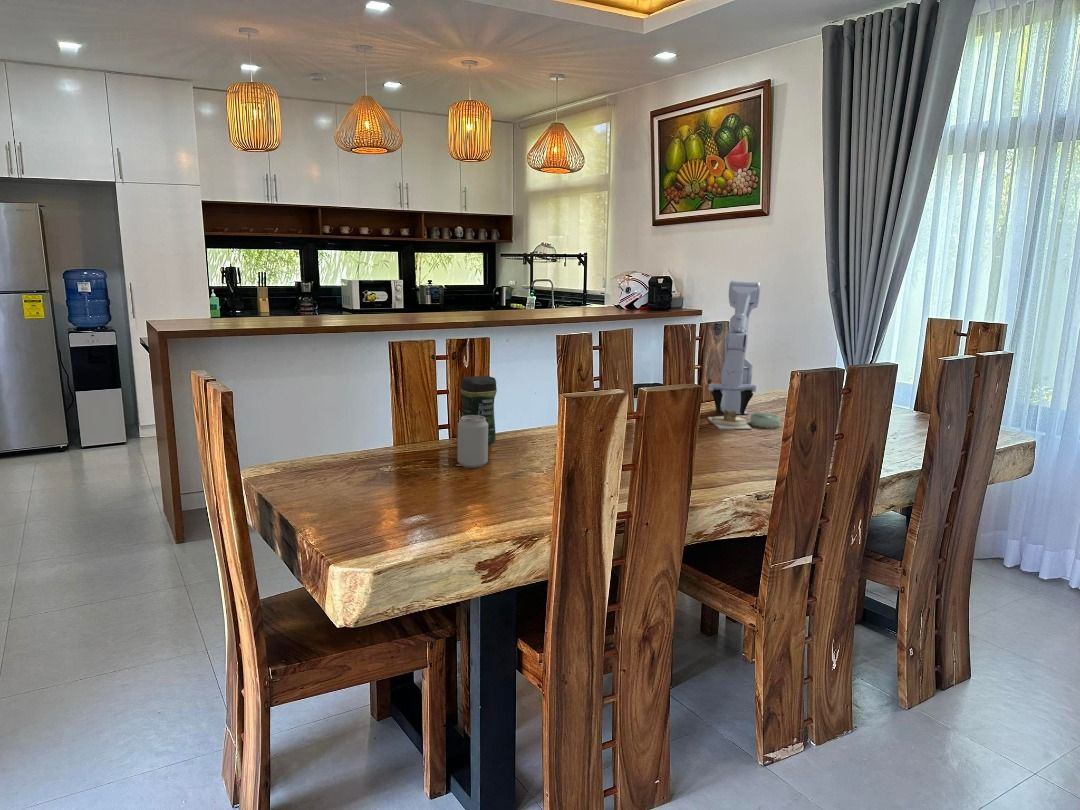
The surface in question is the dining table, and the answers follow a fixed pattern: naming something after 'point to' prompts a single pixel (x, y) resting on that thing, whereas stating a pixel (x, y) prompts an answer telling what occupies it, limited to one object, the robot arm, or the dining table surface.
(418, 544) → the dining table surface
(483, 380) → the coffee jar
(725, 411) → the lid
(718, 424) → the mat
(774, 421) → the bowl
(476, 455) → the can
